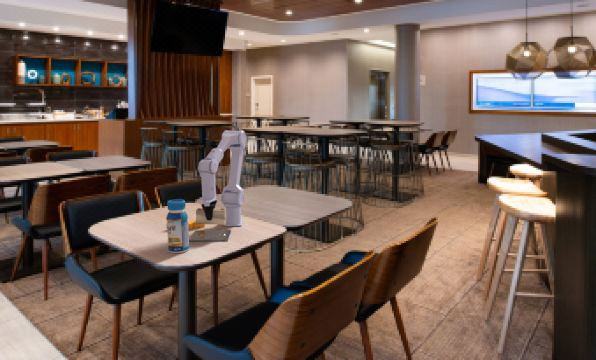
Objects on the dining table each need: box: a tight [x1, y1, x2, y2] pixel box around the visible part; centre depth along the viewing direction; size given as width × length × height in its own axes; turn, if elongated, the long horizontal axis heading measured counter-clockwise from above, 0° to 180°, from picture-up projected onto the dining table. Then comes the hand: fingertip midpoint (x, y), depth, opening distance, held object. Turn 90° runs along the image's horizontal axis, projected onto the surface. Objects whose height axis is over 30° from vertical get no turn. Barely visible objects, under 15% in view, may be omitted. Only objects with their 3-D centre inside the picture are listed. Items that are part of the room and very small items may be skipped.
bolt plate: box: [189, 229, 232, 243], centre depth 193 cm, size 14×16×1 cm
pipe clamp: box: [187, 219, 206, 230], centre depth 206 cm, size 12×4×6 cm, turn 97°
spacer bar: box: [195, 207, 226, 225], centre depth 191 cm, size 4×12×6 cm, turn 93°
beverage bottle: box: [165, 198, 191, 254], centre depth 174 cm, size 8×8×20 cm
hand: (210, 218), depth 191 cm, fingers closed on spacer bar, 4 cm apart
